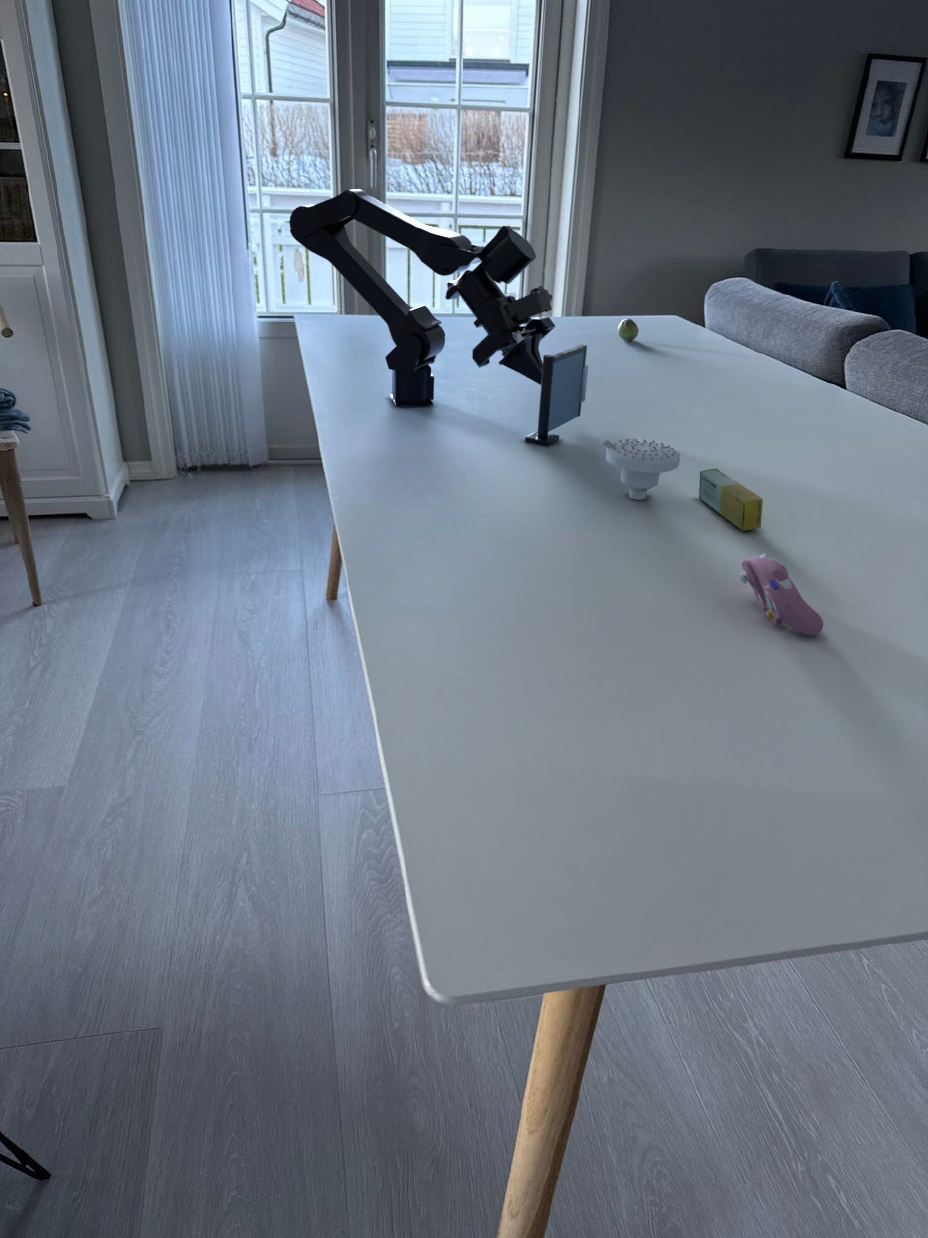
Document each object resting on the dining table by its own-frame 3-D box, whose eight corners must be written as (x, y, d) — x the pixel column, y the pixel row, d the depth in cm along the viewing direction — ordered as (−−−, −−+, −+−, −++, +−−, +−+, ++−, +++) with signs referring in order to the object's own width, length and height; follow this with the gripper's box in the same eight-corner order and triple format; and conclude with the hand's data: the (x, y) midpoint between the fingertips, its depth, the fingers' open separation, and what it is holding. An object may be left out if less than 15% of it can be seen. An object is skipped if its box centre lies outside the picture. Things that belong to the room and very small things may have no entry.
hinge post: (524, 441, 139) (530, 356, 133) (536, 435, 142) (542, 351, 136) (548, 446, 137) (555, 359, 131) (559, 440, 140) (566, 355, 134)
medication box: (696, 499, 119) (698, 470, 117) (715, 496, 120) (717, 467, 118) (741, 532, 109) (744, 500, 107) (762, 528, 109) (765, 497, 107)
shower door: (542, 431, 140) (548, 356, 134) (574, 414, 149) (581, 344, 144) (556, 434, 139) (562, 358, 133) (587, 417, 148) (594, 346, 143)
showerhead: (605, 429, 120) (681, 436, 119) (599, 481, 124) (673, 488, 122) (600, 450, 112) (682, 458, 111) (594, 505, 116) (673, 513, 114)
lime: (616, 338, 215) (618, 316, 213) (636, 339, 215) (639, 317, 212) (616, 341, 211) (619, 319, 209) (637, 342, 211) (640, 320, 208)
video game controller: (746, 606, 95) (728, 552, 92) (787, 588, 95) (770, 533, 91) (783, 653, 86) (764, 595, 83) (829, 634, 86) (811, 575, 83)
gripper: (492, 275, 131) (555, 362, 132) (548, 263, 146) (604, 342, 146) (445, 324, 139) (505, 407, 139) (503, 309, 153) (557, 384, 153)
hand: (545, 383), depth 144 cm, fingers closed
